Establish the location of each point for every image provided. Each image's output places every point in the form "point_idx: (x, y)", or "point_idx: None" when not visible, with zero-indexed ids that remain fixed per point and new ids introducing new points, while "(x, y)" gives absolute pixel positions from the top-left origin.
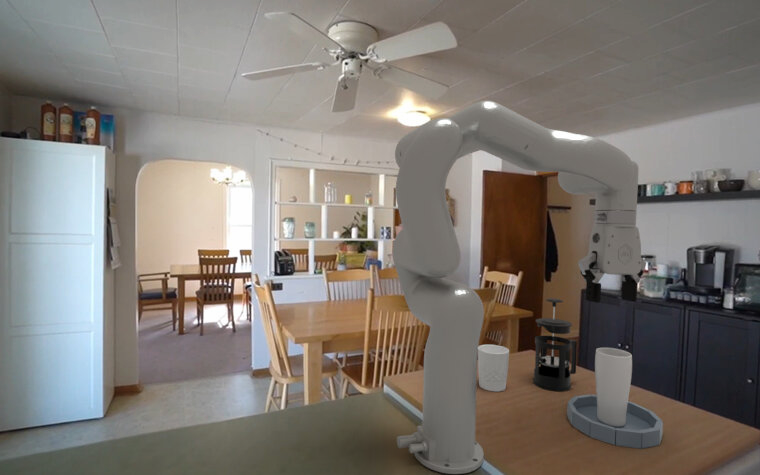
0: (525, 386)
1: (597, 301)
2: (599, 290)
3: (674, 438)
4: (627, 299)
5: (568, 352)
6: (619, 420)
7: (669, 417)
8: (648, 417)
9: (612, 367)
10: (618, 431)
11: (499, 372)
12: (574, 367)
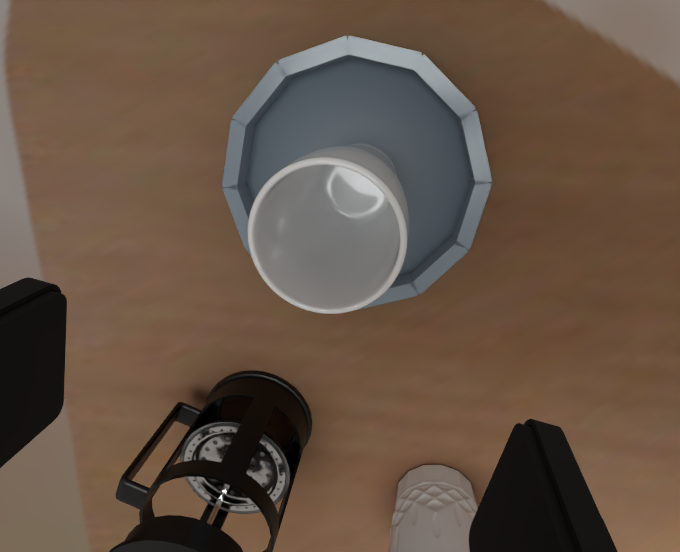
0: (344, 448)
1: (557, 435)
2: (596, 525)
3: (267, 38)
4: (61, 354)
5: (170, 463)
6: (377, 149)
7: (142, 116)
8: (253, 122)
9: (402, 194)
10: (471, 103)
11: (457, 510)
12: (173, 416)
